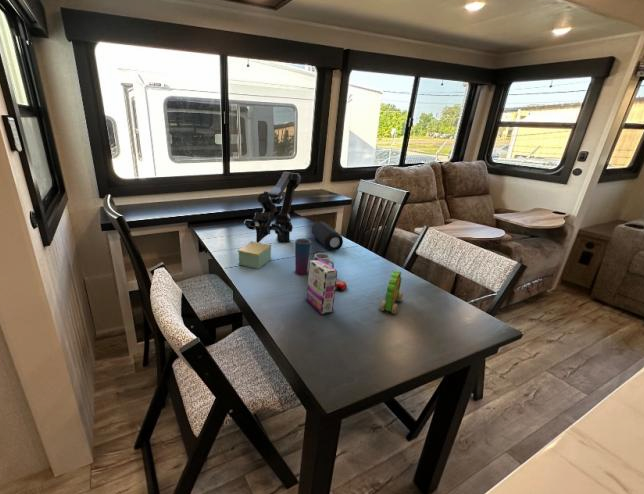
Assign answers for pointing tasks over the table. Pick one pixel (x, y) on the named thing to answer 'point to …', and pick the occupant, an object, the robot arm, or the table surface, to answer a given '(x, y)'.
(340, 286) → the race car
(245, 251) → the lid
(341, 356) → the table surface
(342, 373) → the table surface
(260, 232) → the robot arm
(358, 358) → the table surface
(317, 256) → the mug
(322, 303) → the candy bar box
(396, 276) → the green toy caterpillar
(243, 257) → the green hinged box
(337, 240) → the portable speaker
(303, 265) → the cup
